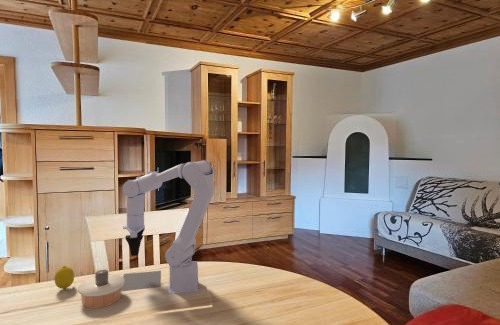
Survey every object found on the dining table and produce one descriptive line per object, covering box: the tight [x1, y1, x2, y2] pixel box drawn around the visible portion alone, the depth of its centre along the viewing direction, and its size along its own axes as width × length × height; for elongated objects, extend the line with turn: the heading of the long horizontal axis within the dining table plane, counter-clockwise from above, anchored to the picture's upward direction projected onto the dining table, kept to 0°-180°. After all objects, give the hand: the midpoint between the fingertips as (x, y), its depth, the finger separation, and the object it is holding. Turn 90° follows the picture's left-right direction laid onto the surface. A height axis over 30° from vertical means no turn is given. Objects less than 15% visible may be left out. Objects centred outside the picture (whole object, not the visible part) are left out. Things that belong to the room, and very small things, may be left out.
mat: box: [121, 270, 162, 292], centre depth 109 cm, size 13×13×1 cm
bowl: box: [80, 289, 122, 309], centre depth 96 cm, size 11×11×4 cm
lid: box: [77, 269, 125, 297], centre depth 96 cm, size 13×13×4 cm
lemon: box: [54, 265, 75, 290], centre depth 102 cm, size 6×6×8 cm
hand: (135, 251), depth 109 cm, fingers open, 7 cm apart
